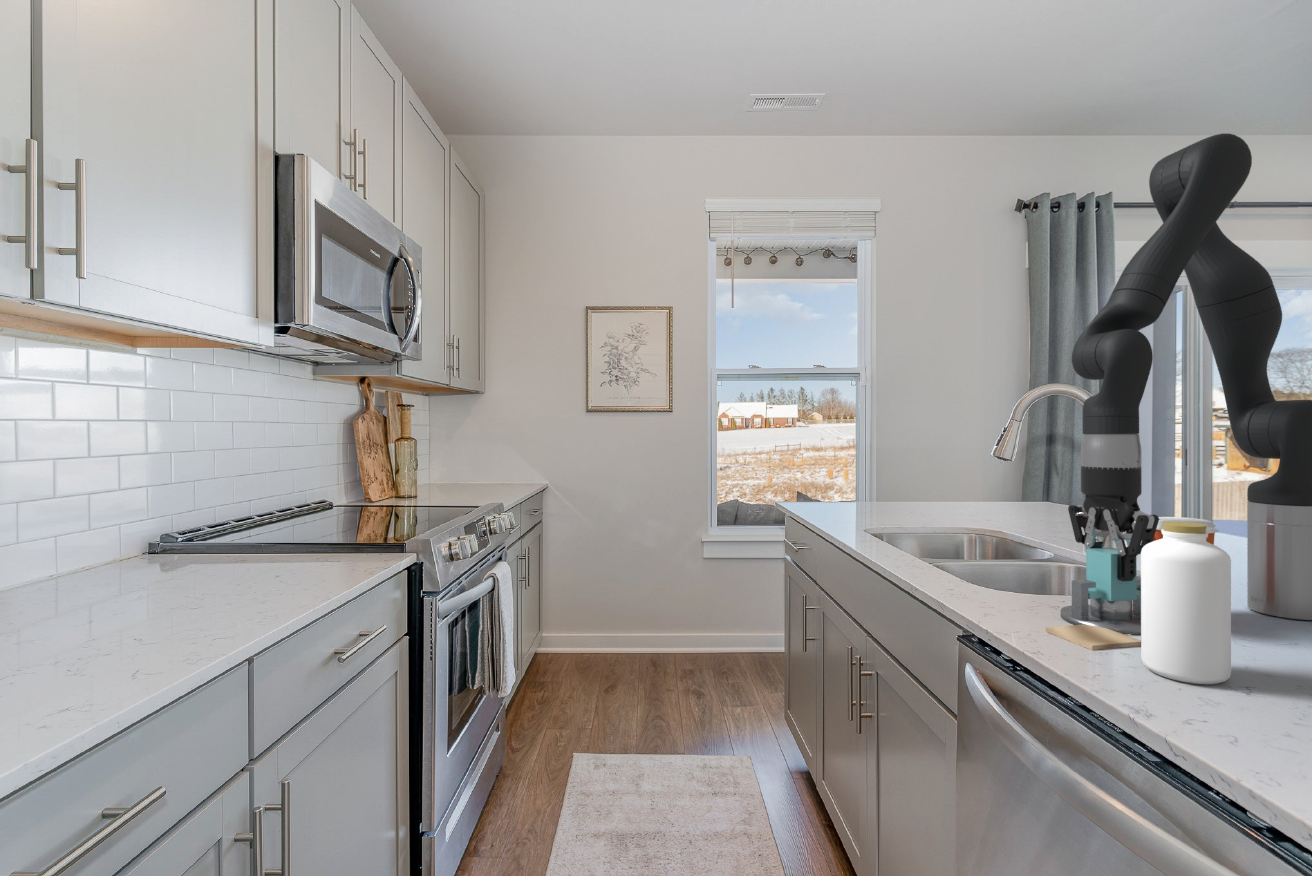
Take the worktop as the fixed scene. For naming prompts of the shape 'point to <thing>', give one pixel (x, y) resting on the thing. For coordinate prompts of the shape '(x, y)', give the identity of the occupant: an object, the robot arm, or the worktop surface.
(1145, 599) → the potion bottle
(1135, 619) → the grey round stand
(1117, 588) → the teal block with tabs
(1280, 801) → the worktop surface
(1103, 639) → the coaster
